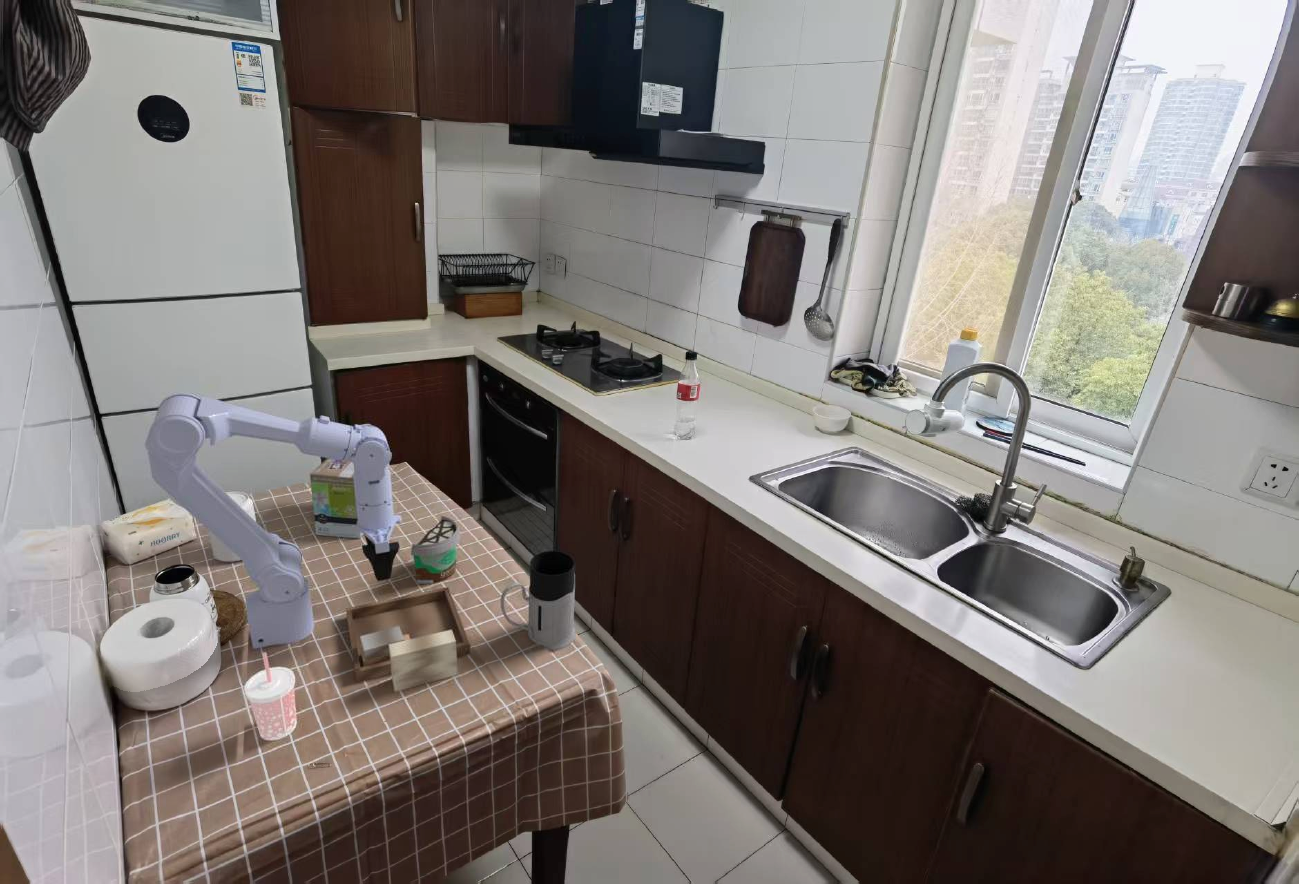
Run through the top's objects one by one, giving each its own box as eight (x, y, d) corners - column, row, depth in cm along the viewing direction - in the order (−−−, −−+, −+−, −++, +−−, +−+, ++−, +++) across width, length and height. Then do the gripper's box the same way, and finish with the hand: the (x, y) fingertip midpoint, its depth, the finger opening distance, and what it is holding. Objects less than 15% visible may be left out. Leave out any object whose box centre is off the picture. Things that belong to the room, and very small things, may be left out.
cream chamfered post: (394, 692, 103) (391, 656, 100) (392, 679, 106) (388, 644, 103) (457, 676, 107) (455, 641, 105) (453, 664, 110) (451, 629, 107)
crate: (357, 686, 104) (355, 672, 103) (347, 621, 118) (345, 608, 117) (470, 657, 112) (469, 644, 111) (448, 599, 126) (448, 587, 125)
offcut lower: (364, 671, 106) (362, 661, 106) (361, 654, 110) (360, 645, 109) (413, 658, 110) (412, 649, 109) (409, 643, 113) (408, 633, 112)
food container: (443, 596, 127) (441, 551, 123) (413, 590, 127) (410, 545, 124) (472, 561, 138) (471, 519, 134) (444, 556, 139) (442, 514, 135)
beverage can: (263, 557, 134) (254, 504, 129) (215, 568, 129) (204, 513, 124) (258, 538, 140) (249, 487, 135) (212, 548, 135) (201, 495, 130)
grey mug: (585, 637, 119) (588, 566, 113) (515, 671, 110) (515, 596, 104) (557, 612, 125) (559, 543, 119) (488, 643, 116) (487, 569, 110)
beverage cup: (291, 708, 100) (277, 632, 94) (310, 730, 96) (298, 653, 91) (246, 731, 95) (230, 653, 90) (266, 756, 92) (249, 676, 86)
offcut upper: (365, 660, 106) (364, 650, 105) (361, 646, 109) (360, 636, 108) (405, 649, 109) (404, 639, 108) (399, 635, 112) (398, 625, 111)
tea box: (362, 539, 142) (356, 477, 136) (315, 536, 142) (306, 473, 136) (389, 505, 156) (384, 447, 150) (345, 502, 156) (339, 444, 150)
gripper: (406, 514, 108) (411, 585, 113) (393, 476, 119) (398, 541, 125) (358, 521, 104) (366, 594, 110) (350, 481, 116) (357, 548, 121)
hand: (380, 566), depth 117 cm, fingers open, 7 cm apart
